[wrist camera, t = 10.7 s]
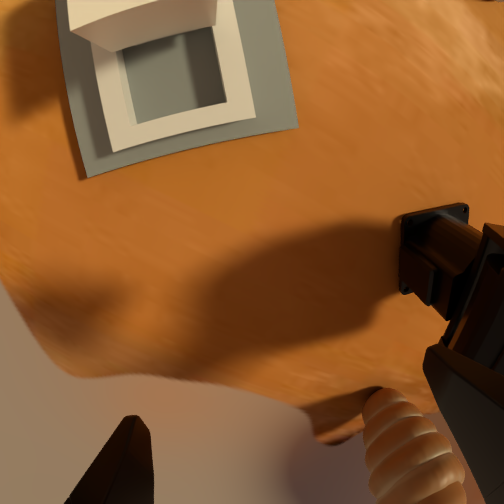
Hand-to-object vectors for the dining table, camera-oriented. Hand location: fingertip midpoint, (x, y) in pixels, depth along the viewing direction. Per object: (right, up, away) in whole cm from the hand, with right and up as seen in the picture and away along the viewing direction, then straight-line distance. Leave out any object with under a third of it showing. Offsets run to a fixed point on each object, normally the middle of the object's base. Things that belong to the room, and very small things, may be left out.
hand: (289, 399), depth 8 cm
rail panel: (-6, +19, +4) cm, 20 cm away
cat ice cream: (+12, -10, +20) cm, 26 cm away
